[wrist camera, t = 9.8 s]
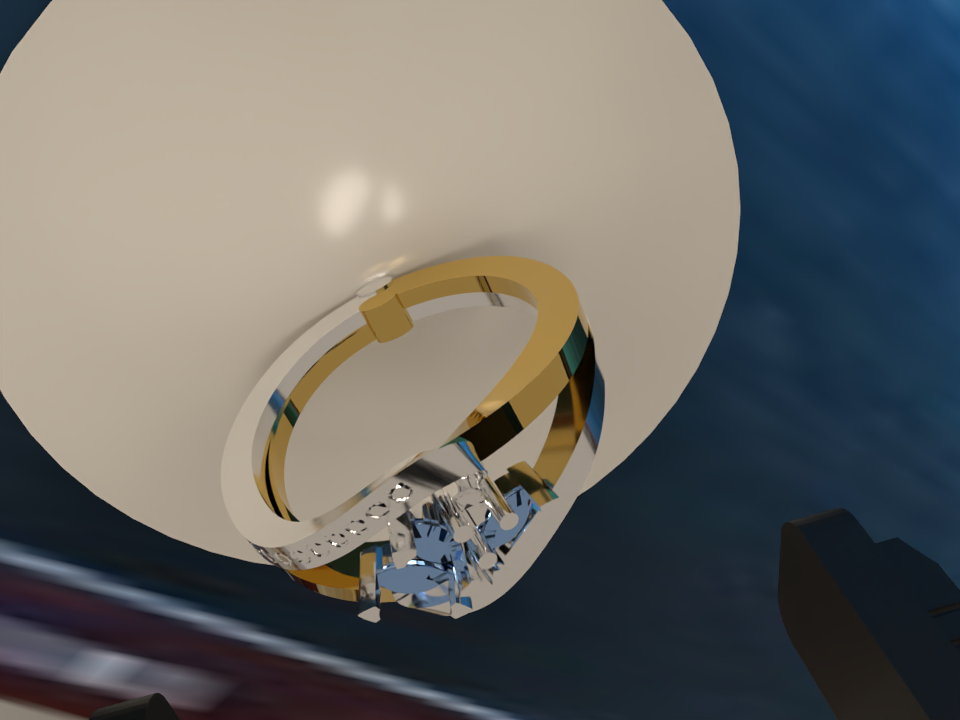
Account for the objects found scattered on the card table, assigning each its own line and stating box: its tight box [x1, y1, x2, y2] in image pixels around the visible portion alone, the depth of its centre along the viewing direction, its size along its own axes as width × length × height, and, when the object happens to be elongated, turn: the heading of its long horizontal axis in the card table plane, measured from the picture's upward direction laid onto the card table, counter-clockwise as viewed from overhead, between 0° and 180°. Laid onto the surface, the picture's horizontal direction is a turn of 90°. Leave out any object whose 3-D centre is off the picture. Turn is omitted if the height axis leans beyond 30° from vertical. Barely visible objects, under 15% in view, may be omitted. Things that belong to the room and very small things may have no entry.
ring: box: [221, 256, 605, 623], centre depth 15 cm, size 7×3×8 cm, turn 112°
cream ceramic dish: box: [0, 0, 740, 565], centre depth 19 cm, size 16×16×1 cm
